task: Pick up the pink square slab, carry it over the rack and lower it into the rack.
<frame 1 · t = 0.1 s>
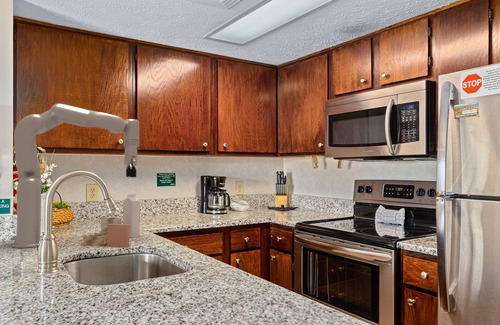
hand: (131, 177, 198), 31 cm above the worktop, tool pointing down, fingers open, 9 cm apart
pink square slab: (118, 246, 176), on the worktop
rack: (103, 242, 186), on the worktop
milk: (131, 236, 202), on the worktop
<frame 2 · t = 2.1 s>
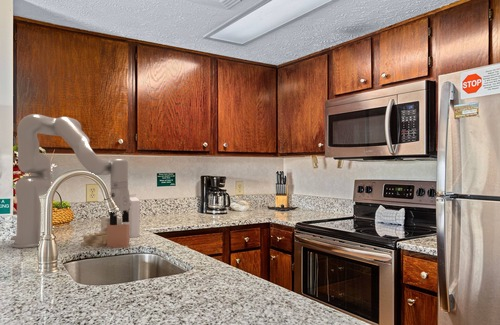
hand: (119, 223, 176), 10 cm above the worktop, tool pointing down, fingers open, 9 cm apart
nothing on the worktop moved.
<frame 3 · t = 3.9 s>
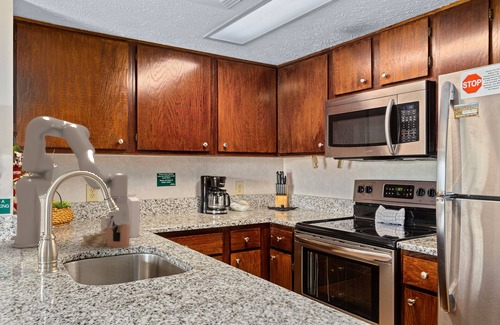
hand: (118, 240, 176), 3 cm above the worktop, tool pointing down, fingers closed on pink square slab, 2 cm apart
pink square slab: (118, 246, 176), on the worktop, touching gripper
everything else where it was.
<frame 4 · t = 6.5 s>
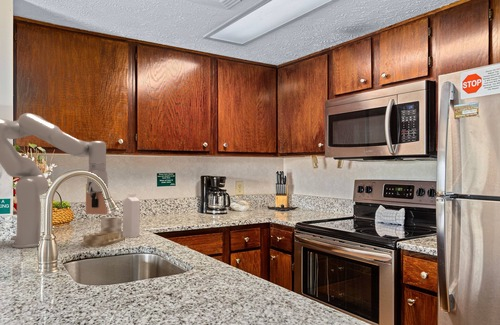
hand: (96, 206, 180), 17 cm above the worktop, tool pointing down, fingers closed on pink square slab
pink square slab: (96, 213, 180), point 14 cm above the worktop, touching gripper
everything else where it was.
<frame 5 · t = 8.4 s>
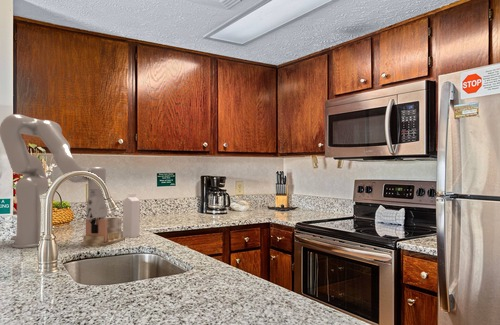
hand: (96, 232, 180), 6 cm above the worktop, tool pointing down, fingers closed on pink square slab, 2 cm apart
pink square slab: (96, 240, 180), point 2 cm above the worktop, touching gripper
everything else where it was.
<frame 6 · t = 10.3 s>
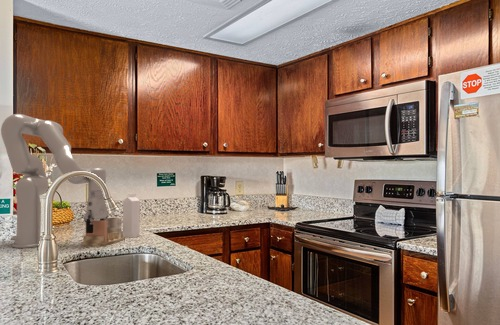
hand: (96, 231, 180), 6 cm above the worktop, tool pointing down, fingers open, 9 cm apart
pink square slab: (96, 242, 180), point 1 cm above the worktop, touching rack
everything else where it was.
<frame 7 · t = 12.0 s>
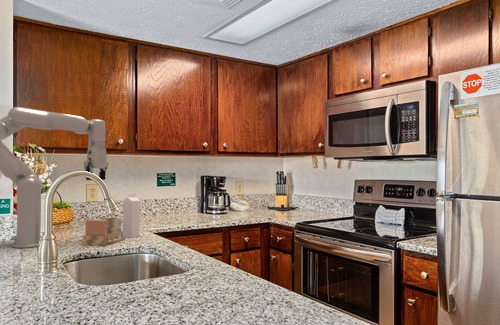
hand: (95, 179, 189), 30 cm above the worktop, tool pointing down, fingers open, 9 cm apart
nothing on the worktop moved.
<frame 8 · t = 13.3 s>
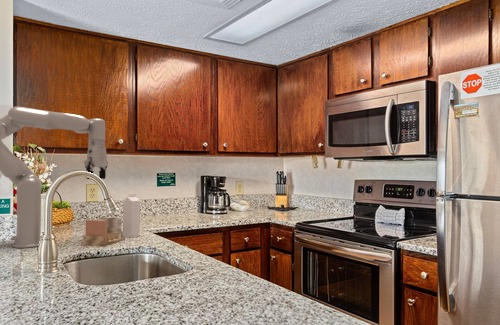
hand: (96, 178, 190), 30 cm above the worktop, tool pointing down, fingers open, 9 cm apart
nothing on the worktop moved.
at the end: pink square slab inside the target area (0.0 cm from its centre), point 1.2 cm above the worktop; pink square slab tilted 0°; the gripper is holding nothing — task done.
